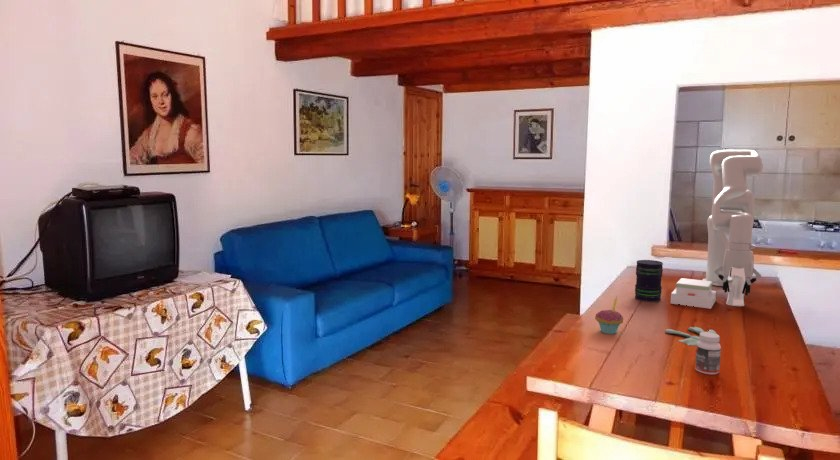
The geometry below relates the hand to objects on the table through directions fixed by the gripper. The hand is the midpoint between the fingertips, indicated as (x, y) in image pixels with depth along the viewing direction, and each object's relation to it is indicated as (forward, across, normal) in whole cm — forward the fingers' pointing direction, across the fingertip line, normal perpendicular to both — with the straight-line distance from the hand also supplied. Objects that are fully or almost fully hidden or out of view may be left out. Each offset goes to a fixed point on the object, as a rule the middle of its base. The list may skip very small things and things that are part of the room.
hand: (736, 292), depth 214 cm
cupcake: (+5, +31, +62) cm, 69 cm away
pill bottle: (+5, 0, +82) cm, 82 cm away
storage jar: (+5, +30, +9) cm, 32 cm away
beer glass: (+5, 0, 0) cm, 5 cm away
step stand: (+5, +14, +5) cm, 16 cm away
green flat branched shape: (+6, +8, +50) cm, 51 cm away
